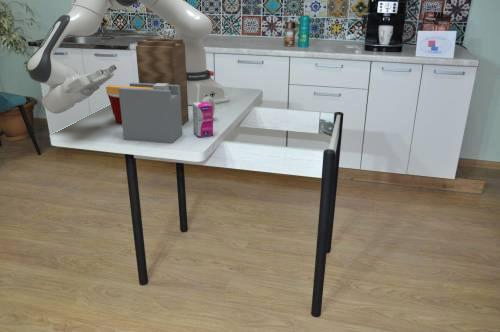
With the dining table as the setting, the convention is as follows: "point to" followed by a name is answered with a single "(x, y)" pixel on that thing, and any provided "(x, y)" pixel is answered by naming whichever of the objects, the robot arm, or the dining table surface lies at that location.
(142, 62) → the walnut post
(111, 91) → the orange squared block
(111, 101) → the plastic cup
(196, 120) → the supplement box
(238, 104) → the dining table surface
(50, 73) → the robot arm
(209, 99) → the donut
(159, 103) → the block
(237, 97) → the dining table surface
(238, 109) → the dining table surface
